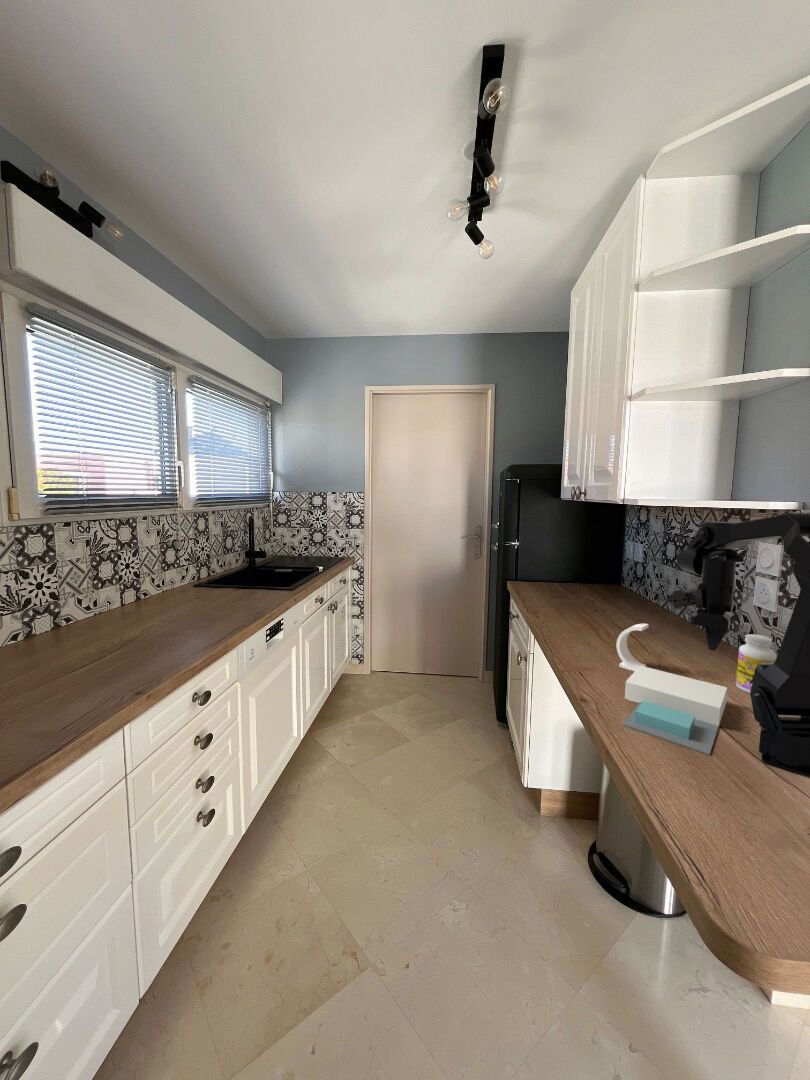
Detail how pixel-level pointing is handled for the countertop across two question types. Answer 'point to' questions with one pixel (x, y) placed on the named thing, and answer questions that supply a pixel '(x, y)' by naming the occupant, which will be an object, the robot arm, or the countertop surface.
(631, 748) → the countertop surface
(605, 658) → the countertop surface
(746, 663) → the supplement bottle
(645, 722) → the teal rectangular block
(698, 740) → the mat
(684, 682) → the tray
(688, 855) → the countertop surface
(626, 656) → the headphone stand
